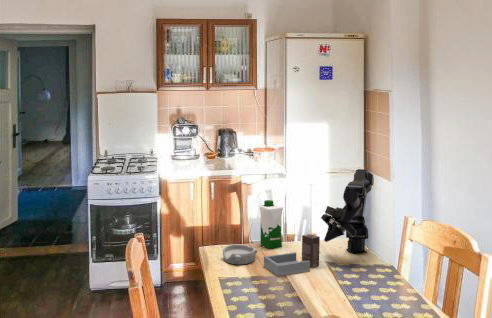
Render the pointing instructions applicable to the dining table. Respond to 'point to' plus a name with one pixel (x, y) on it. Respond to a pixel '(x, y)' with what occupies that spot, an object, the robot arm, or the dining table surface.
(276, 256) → the tray
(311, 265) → the box
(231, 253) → the dish
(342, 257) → the dining table surface
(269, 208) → the milk carton
